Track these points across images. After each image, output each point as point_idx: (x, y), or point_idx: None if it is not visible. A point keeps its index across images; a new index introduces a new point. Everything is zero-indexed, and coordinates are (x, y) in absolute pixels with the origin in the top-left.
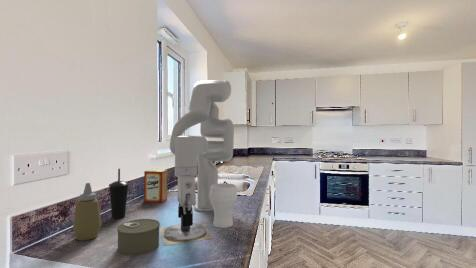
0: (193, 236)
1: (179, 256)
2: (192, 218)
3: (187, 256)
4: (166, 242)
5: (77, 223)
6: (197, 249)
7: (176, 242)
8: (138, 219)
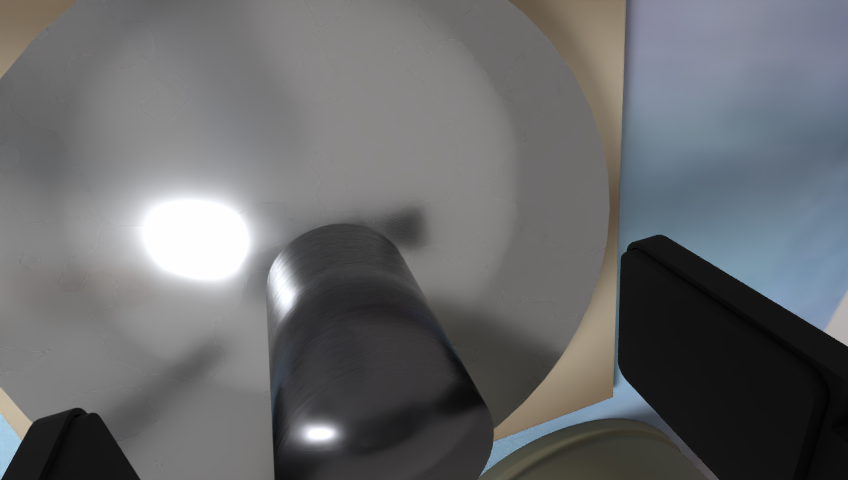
0: (599, 157)
1: (802, 239)
2: (757, 295)
3: (834, 177)
4: (560, 393)
5: None
6: (770, 91)
7: (588, 312)
8: None
